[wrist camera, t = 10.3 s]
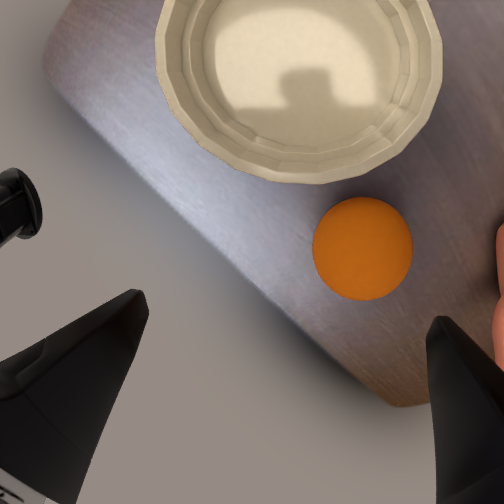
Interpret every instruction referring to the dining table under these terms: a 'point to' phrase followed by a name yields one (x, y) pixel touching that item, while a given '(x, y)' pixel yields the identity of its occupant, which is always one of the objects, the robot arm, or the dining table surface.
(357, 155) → the bowl
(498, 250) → the teapot
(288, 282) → the dining table surface
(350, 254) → the orange
